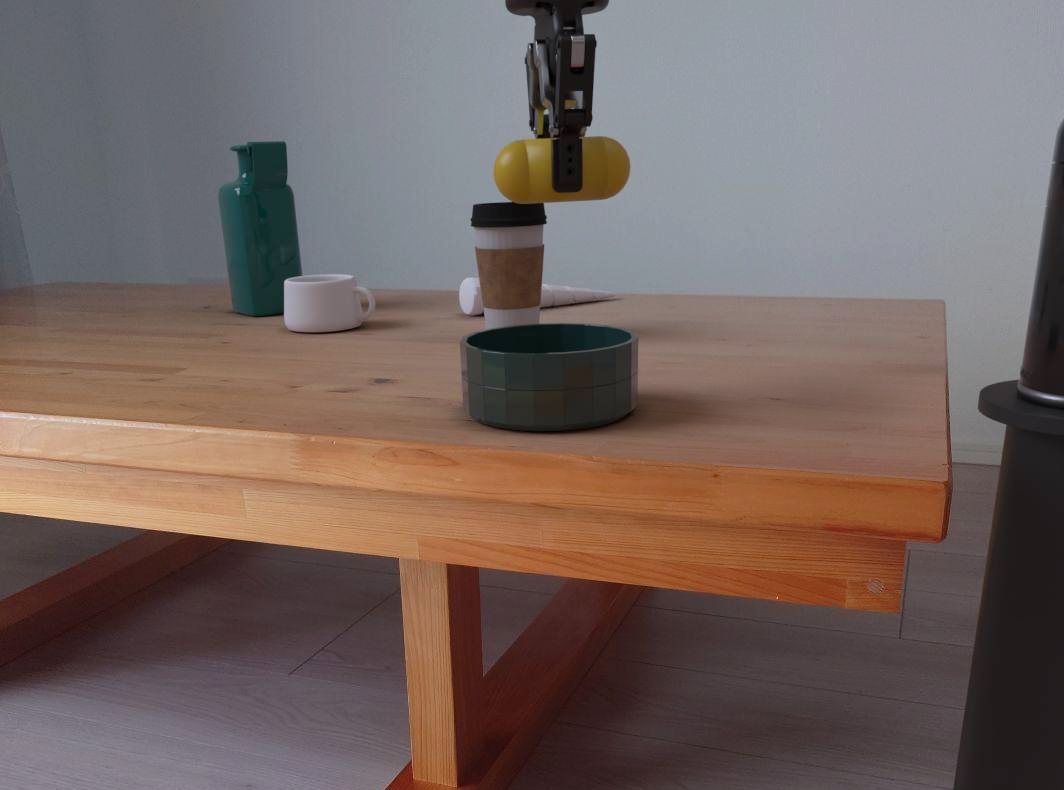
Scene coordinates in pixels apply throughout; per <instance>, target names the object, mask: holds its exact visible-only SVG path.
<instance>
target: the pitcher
mask: <svg viewBox="0 0 1064 790" xmlns="http://www.w3.org/2000/svg"><path fill="white" fill-rule="evenodd" d="M287 148H288V147H287V143H286V141H285V140H269V141H267V140H266V141H264V140H263V141H247V143H246V144H234V145H231V146H230V147H229V151H230V152H233V153H236V159H237V166H238V177H237V178H236V179H235V180H233V181H230V182H229V181H228V182H226V183H224V184H222V185H221V186H220V187H219V189H218V192H217V199H218V208H219V214H220V222H221V230H222V231H221V232H222V237H223V246H224V254H225V261H226V268H227V277H228V283H229V290H230V298H231V299H230V300H231V307H232V310H233V312H234V313H236V314H242V315H245V316H251V317H269V316H277V315H284V281H285V280H286V279H289V278H293V277H299V276H303V267H302V260H301V259H302V258H301V250H300V240H299V231H298V221H297V212H296V211H297V210H296V202H295V194H294V191H293V189H292V187H291V185H290V184H289V183H288V175H289V173H288V171H289V170H288V151H287Z"/></svg>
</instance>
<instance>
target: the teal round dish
mask: <svg viewBox="0 0 1064 790" xmlns="http://www.w3.org/2000/svg"><path fill="white" fill-rule="evenodd" d="M459 354H460V355H459V356H460V371H461V372H460V373H461V390H462V391H461V393H462V408H463V410H464V411H465V412H466V413H467V414H468V415H469V416H471V417H473V419H475V421H477V422H479V423H481V424H484V425H487V426H490V427H493V428H498V429H504V430H511V431H519V432H564V431H565V432H566V431H575V430H577V431H578V430H585V429H591V428H596V427H600V426H605V425H608V424H611V423H614V422H617V421H619V420H621V419H623V418H624V417H626V416H627V414H628V413H630V412H632V411H633V410H634V409H635V408H636V407H637V406H638V405H639V403H638V402H639V401H638V400H639V399H638V396H639V393H638V392H639V336H638V335H637V332H635V331H632V330H630V329H627V328H625V327H624V328H623V327H618V326H614V325H608V324H607V325H606V324H596V323H581V322H577V323H575V322H548V323H539V324H525V325H513V326H505V327H498V328H491V329H486V328H485V329H482V330H478V331H474V332H471V333H469V334H467V335H464V336H462V337H461V339H460V341H459Z"/></svg>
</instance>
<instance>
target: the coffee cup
mask: <svg viewBox="0 0 1064 790" xmlns="http://www.w3.org/2000/svg"><path fill="white" fill-rule="evenodd" d="M471 211H472V214H471V218H470V227H473V228H474V237H475V244H476V246H474V252H475V258H476V265H477V266H476V267H477V273H478V278H479V281H480V288H481V296H482V303H483V307H484V314H483V316H484V325H485V330H486V329H491V328H498V327H505V326H513V325H525V324H540V317H541V308H540V304H541V289H542V284H543V272H544V257H545V256H544V255H545V244H544V225H547V224H548V222H547V219H548V216H547V215H546V209H545V203H533V204H519V203H515V202H512V201H502V202H501V201H499V202H485V203H484V202H483V203H474V204H473V205H472V210H471Z"/></svg>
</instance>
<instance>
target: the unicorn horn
mask: <svg viewBox="0 0 1064 790" xmlns="http://www.w3.org/2000/svg"><path fill="white" fill-rule="evenodd" d="M458 292H459V295H458V297H459V305H460V308H461V310H462V312H463V313H464V314H465V315H466V316H471V317H473V316H480V315H482V314H483V315H484V307H483V303H482V296H481V288H480V281H479V277H472V276H471V277H470V276H469V277H466V278H465V279H463V280H462V282H461V284H460V287H459V291H458ZM615 296H617V294H616V293H615V292H612V291H607V290H606V291H605V290H599V289H594V288H593V289H592V288H584V287H575V286H566V285H559V284H558V285H557V284H548V283H542V289H541V304H540V309H542V308H551V307H560V306H567V305H573V303H574V304H582V303H589V302H593V301H595V300H596V301H600V300H606V299H610V298H613V297H615Z"/></svg>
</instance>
